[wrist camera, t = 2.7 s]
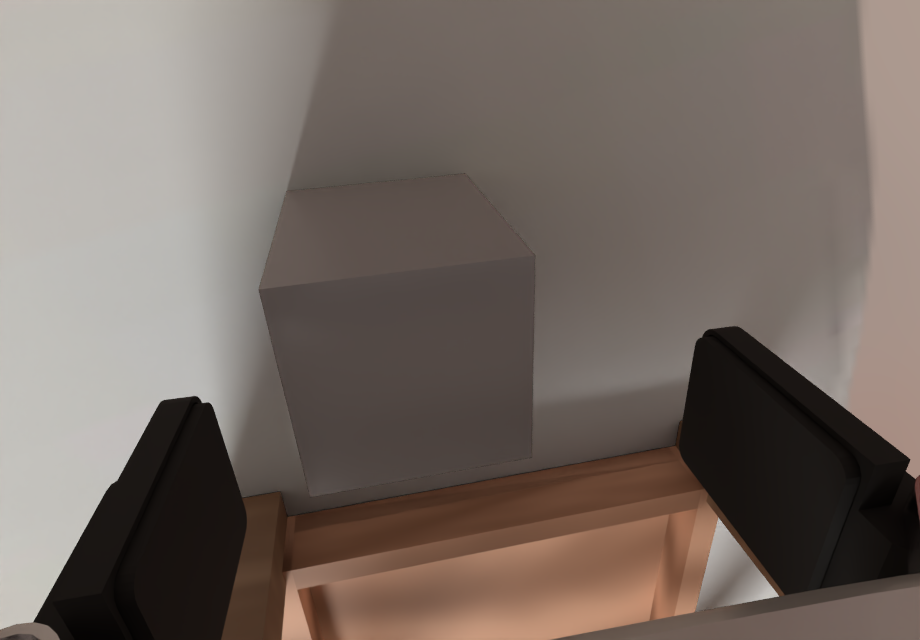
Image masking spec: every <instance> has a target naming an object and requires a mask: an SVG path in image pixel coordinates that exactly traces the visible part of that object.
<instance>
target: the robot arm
mask: <svg viewBox="0 0 920 640" xmlns="http://www.w3.org/2000/svg"><path fill="white" fill-rule="evenodd" d="M679 451H680V454H681V457H682V459H683V461H684V462H685V464H686V465H687V466H688V468H689V469H690V470H691V472H692V473H693V474H694V476H695V477H696V478H697V480H698V481H699V482H700V483H701V485H702V486H703V487H704V489H705V490H706V491H707V493H708V494H709V495H710V497H711V498H712V499H713V501H714V502H715V503H716V505H717V506H718V507H719V509H720V510H721V511H722V513H723V514H724V515H725V517H726V518H727V519H728V521H729V522H730V523H731V525H732V526H733V527H734V529H735V530H736V531H737V532H738V534H739V535H740V536H741V538H742V539H743V540H744V542H745V543H746V544H747V546H748V547H749V548H750V550H751V551H752V552H753V554H754V555H755V556H756V558H757V559H758V560H759V562H760V563H761V564H762V566H763V567H764V568H765V570H766V571H767V572H768V574H769V575H770V576H771V577H772V579H773V580H774V581H775V583H776V584H777V585H778V587H779V588H780V589H781V591H782V592H783V593H784V595H785V596H779V597H774V598H769V599H763V600H758V601H752V602H747V603H742V604H736V605H731V606H725V607H720V608H715V609H709V610H704V611H699V612H693V613H688V614H682V615H677V616H672V617H666V618H661V619H656V620H651V621H645V622H640V623H635V624H630V625H624V626H619V627H614V628H609V629H603V630H598V631H593V632H588V633H582V634H577V635H572V636H567V637H561V638H556V639H551V640H920V475H919V476H918V477H917V478H916V479H915V478H913V477H912V476H911V475H910V474H908V473H907V472H906V469H907V467H908V464H909V462H910V459H909V458H908V457H907V456H906V455H904V454H903V453H902V452H900V451H899V450H898V449H896V448H895V447H894V446H893V445H891V444H890V443H889V442H887V441H886V440H884V439H883V438H882V437H881V436H880V435H878V434H877V433H876V432H875V431H873V430H872V429H871V428H869V427H868V426H867V425H865V424H864V423H862V421H860V420H859V419H858V418H856V417H855V416H854V415H853V414H851V413H850V412H849V411H847V410H846V409H845V408H844V407H842V406H841V405H840V404H838V403H837V402H836V401H835V400H833V399H832V398H831V397H829V396H828V395H827V394H825V393H824V392H823V391H822V390H820V389H819V388H818V387H816V386H815V385H814V384H813V383H811V382H810V381H809V380H807V379H806V378H805V377H804V376H802V375H801V374H800V373H798V372H797V371H796V370H794V369H793V368H792V367H791V366H789V365H788V364H787V363H785V362H784V361H783V360H782V359H780V358H779V357H778V356H776V355H775V354H774V353H773V352H771V351H770V350H769V349H767V348H766V347H765V346H763V345H762V344H761V343H760V342H758V341H757V340H756V339H754V338H753V337H752V336H751V335H749V334H748V333H747V332H745V331H744V330H743V329H741V328H740V327H738V326H732V327H725V328H717V329H709V330H707V331H705V333H704V334H703V337H702V338H699V339H698V340H697V341H696V344H695V349H694V355H693V361H692V367H691V373H690V379H689V385H688V391H687V397H686V403H685V409H684V415H683V421H682V427H681V433H680V439H679ZM246 529H247V514H246V509H245V506H244V503H243V500H242V496H241V493H240V490H239V487H238V484H237V481H236V478H235V475H234V471H233V468H232V465H231V462H230V459H229V456H228V453H227V450H226V446H225V443H224V440H223V437H222V434H221V431H220V428H219V425H218V421H217V418H216V415H215V412H214V409H213V407H212V405H211V404H210V403H202V402H201V400H200V399H199V398H198V397H197V396H192V397H185V398H177V399H169V400H163V401H161V403H160V404H159V405H158V407H157V409H156V411H155V413H154V414H153V416H152V418H151V420H150V422H149V424H148V425H147V427H146V429H145V431H144V433H143V435H142V436H141V438H140V440H139V442H138V444H137V446H136V447H135V449H134V451H133V453H132V455H131V457H130V459H129V460H128V462H127V464H126V466H125V468H124V470H123V471H122V473H121V475H120V477H119V479H118V481H116V482H115V483H113V484H111V486H110V487H109V488H108V490H107V491H106V493H105V494H104V496H103V498H102V500H101V501H100V503H99V505H98V507H97V509H96V510H95V512H94V514H93V516H92V518H91V519H90V521H89V523H88V525H87V527H86V528H85V530H84V532H83V534H82V536H81V537H80V539H79V541H78V543H77V545H76V546H75V548H74V550H73V552H72V554H71V555H70V557H69V559H68V561H67V563H66V564H65V566H64V568H63V570H62V572H61V573H60V575H59V577H58V579H57V581H56V582H55V584H54V586H53V588H52V590H51V591H50V593H49V595H48V597H47V599H46V600H45V602H44V604H43V606H42V608H41V609H40V611H39V613H38V615H37V617H36V618H35V620H34V622H33V623H23V624H16V625H13V626H10V627H7V628H4V629H1V630H0V640H221V638H222V634H223V629H224V625H225V621H226V616H227V612H228V608H229V603H230V599H231V595H232V590H233V586H234V582H235V577H236V573H237V569H238V564H239V560H240V556H241V551H242V547H243V543H244V538H245V534H246Z"/></svg>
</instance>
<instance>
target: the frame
mask: <svg viewBox="0 0 920 640" xmlns="http://www.w3.org/2000/svg"><path fill="white" fill-rule="evenodd" d="M681 427H682V421H680V423H679V429H678V434H677V440H676V445H675V446H672V447H666V448H661V449H655V450H650V451H644V452H639V453H634V454H628V455H623V456H617V457H612V458H606V459H601V460H595V461H590V462H584V463H579V464H574V465H568V466H563V467H557V468H552V469H546V470H541V471H535V472H530V473H525V474H519V475H514V476H508V477H503V478H497V479H492V480H486V481H481V482H475V483H470V484H465V485H459V486H454V487H448V488H443V489H437V490H432V491H426V492H421V493H415V494H410V495H405V496H399V497H394V498H388V499H383V500H377V501H372V502H366V503H361V504H356V505H350V506H345V507H339V508H334V509H328V510H323V511H317V512H312V513H306V514H301V515H296V516H290V517H287V514H286V510H285V507H284V503H283V499H282V496H281V492H275V493H269V494H263V495H258V496H252V497H246V498H242V500H243V503H244V506H245V509H246V514H247V529H246V534H245V538H244V543H243V547H242V551H241V556H240V560H239V564H238V569H237V573H236V577H235V582H234V586H233V590H232V595H231V599H230V603H229V608H228V612H227V616H226V621H225V625H224V629H223V634H222V638H221V640H551V639H556V638H561V637H567V636H572V635H577V634H582V633H588V632H593V631H598V630H603V629H609V628H614V627H619V626H624V625H630V624H635V623H640V622H645V621H651V620H656V619H661V618H666V617H672V616H677V615H682V614H688V613H693V612H695V609H696V605H697V601H698V597H699V593H700V589H701V585H702V581H703V577H704V573H705V569H706V565H707V561H708V557H709V553H710V548H711V544H712V540H713V536H714V532H715V528H716V524H717V520H718V517H719V519H720V520H721V521H722V523H723V524H724V525H725V526H726V528H727V529H728V530H729V532H730V533H731V534H732V535H733V537H734V538H735V539H736V541H737V542H738V543H739V544H740V546H741V547H742V548H743V550H744V551H745V552H746V554H747V555H748V556H749V557H750V559H751V560H752V561H753V563H754V564H755V565H756V566H757V568H758V569H759V570H760V572H761V573H762V574H763V576H764V577H765V578H766V579H767V581H768V582H769V583H770V585H771V586H772V587H773V588H774V590H775V591H776V592H777V594H778V595H779V596H785V595H784V593H783V592H782V591H781V589H780V588H779V587H778V585H777V584H776V583H775V581H774V580H773V579H772V577H771V576H770V575H769V574H768V572H767V571H766V570H765V568H764V567H763V566H762V564H761V563H760V562H759V560H758V559H757V558H756V556H755V555H754V554H753V552H752V551H751V550H750V548H749V547H748V546H747V544H746V543H745V542H744V540H743V539H742V538H741V536H740V535H739V534H738V532H737V531H736V530H735V529H734V527H733V526H732V525H731V523H730V522H729V521H728V519H727V518H726V517H725V515H724V514H723V513H722V511H721V510H720V509H719V507H718V506H717V505H716V503H715V502H714V501H713V499H712V498H711V497H710V495H709V494H708V493H707V491H706V490H705V489H704V487H703V486H702V485H701V483H700V482H699V481H698V480H697V478H696V477H695V476H694V474H693V473H692V472H691V470H690V469H689V468H688V466H687V465H686V464H685V462H684V461H683V459H682V457H681V454H680V451H679V439H680V433H681Z"/></svg>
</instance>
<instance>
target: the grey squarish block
mask: <svg viewBox="0 0 920 640" xmlns="http://www.w3.org/2000/svg"><path fill="white" fill-rule="evenodd" d="M259 293H260V297H261V301H262V305H263V309H264V313H265V317H266V321H267V325H268V329H269V333H270V338H271V342H272V346H273V350H274V354H275V358H276V362H277V366H278V370H279V374H280V378H281V382H282V386H283V390H284V394H285V398H286V402H287V406H288V410H289V414H290V418H291V422H292V426H293V430H294V434H295V438H296V442H297V446H298V450H299V454H300V458H301V463H302V467H303V471H304V475H305V479H306V483H307V487H308V491H309V495H310V497H315V496H321V495H326V494H332V493H338V492H343V491H349V490H354V489H360V488H365V487H371V486H377V485H382V484H388V483H393V482H399V481H404V480H410V479H416V478H421V477H427V476H432V475H438V474H443V473H449V472H455V471H460V470H466V469H471V468H477V467H482V466H488V465H493V464H499V463H505V462H510V461H516V460H521V459H527V458H532V410H533V352H534V293H535V255H534V253H533V252H532V251H531V250H530V249H529V247H528V246H527V245H526V244H525V243H524V242H523V240H522V239H521V238H520V237H519V236H518V235H517V233H516V232H515V231H514V230H513V229H512V228H511V226H510V225H509V224H508V223H507V222H506V221H505V219H504V218H503V217H502V216H501V215H500V214H499V212H498V211H497V210H496V209H495V208H494V207H493V205H492V204H491V203H490V202H489V201H488V200H487V198H486V197H485V196H484V195H483V194H482V193H481V191H480V190H479V189H478V188H477V187H476V186H475V184H474V183H473V182H472V181H471V180H470V179H469V177H468V176H467V175H466V174H465V173H464V174H454V175H444V176H434V177H424V178H414V179H404V180H394V181H384V182H374V183H364V184H354V185H344V186H334V187H324V188H313V189H303V190H293V191H287V192H286V195H285V199H284V202H283V206H282V209H281V213H280V216H279V220H278V223H277V227H276V230H275V234H274V237H273V241H272V244H271V248H270V251H269V255H268V258H267V262H266V265H265V269H264V272H263V276H262V279H261V283H260V286H259Z"/></svg>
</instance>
